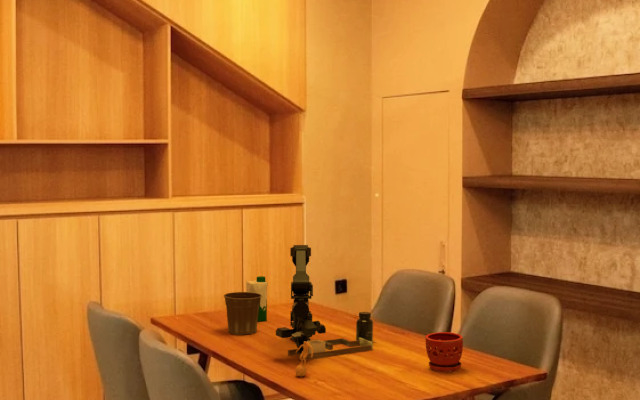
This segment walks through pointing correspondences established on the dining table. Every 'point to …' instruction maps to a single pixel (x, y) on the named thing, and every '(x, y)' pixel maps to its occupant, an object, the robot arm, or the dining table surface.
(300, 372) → the figurine
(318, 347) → the cream block
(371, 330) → the supplement bottle
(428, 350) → the plant pot
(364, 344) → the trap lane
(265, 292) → the milk carton
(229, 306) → the plant pot
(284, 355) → the dining table surface
